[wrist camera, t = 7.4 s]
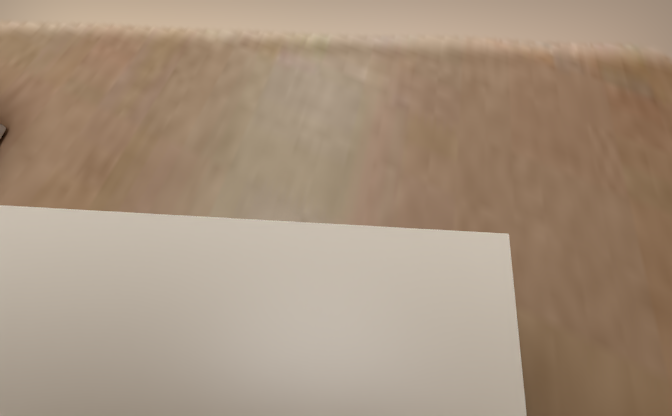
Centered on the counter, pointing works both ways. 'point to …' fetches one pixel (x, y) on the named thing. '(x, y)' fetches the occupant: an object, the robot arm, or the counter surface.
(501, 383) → the tall cream pillar
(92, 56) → the counter surface
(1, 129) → the skincare box
